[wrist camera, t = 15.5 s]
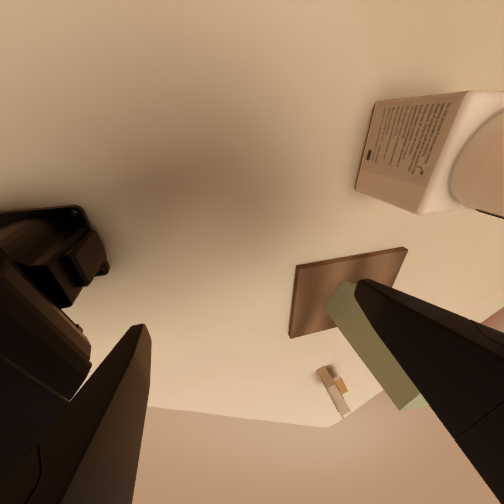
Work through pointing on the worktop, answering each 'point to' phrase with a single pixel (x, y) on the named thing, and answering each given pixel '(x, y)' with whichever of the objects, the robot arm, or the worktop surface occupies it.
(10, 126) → the worktop surface
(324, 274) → the walnut board
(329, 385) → the architectural model
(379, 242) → the worktop surface
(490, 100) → the container
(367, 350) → the sage block
